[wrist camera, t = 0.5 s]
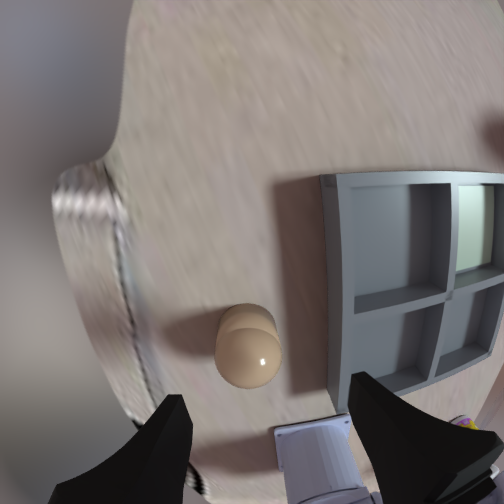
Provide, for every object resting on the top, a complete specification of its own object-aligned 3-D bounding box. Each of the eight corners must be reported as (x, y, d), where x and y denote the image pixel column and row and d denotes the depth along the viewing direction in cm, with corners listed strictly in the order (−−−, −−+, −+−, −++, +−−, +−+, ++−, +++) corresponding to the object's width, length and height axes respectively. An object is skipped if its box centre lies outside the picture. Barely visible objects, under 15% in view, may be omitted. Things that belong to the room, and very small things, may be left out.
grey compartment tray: (473, 341, 23) (490, 355, 20) (326, 388, 23) (336, 414, 19) (491, 172, 18) (516, 174, 15) (319, 174, 18) (336, 174, 15)
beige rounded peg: (278, 348, 21) (288, 397, 16) (223, 355, 21) (219, 405, 16) (273, 299, 20) (283, 342, 15) (213, 306, 20) (204, 351, 15)
